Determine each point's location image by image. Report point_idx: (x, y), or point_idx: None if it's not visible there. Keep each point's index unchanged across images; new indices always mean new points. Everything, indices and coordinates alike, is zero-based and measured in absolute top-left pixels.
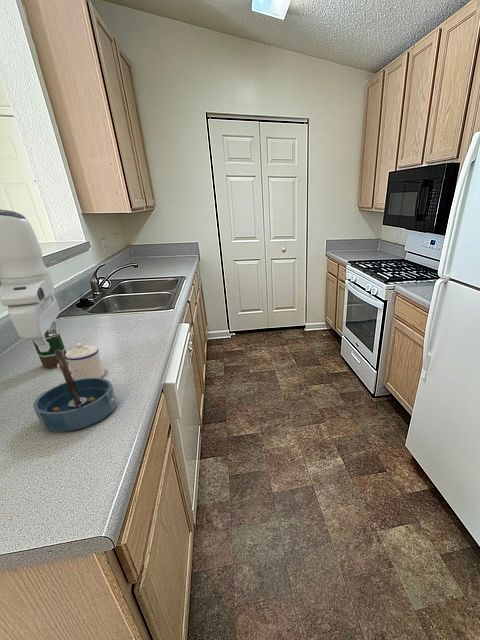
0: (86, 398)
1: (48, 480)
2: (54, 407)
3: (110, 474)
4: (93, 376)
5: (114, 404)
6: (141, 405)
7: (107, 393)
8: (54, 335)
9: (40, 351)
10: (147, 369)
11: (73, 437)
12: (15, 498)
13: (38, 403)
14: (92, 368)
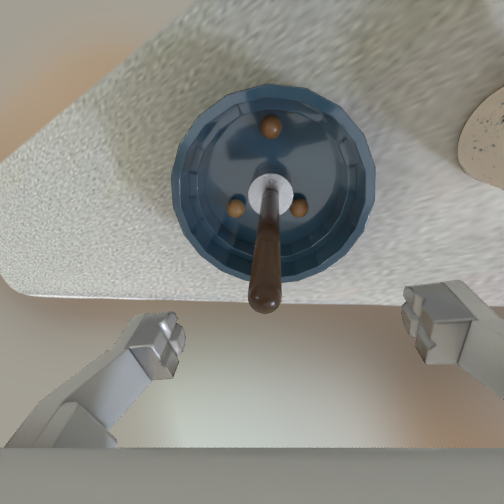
0: (281, 214)
1: (65, 203)
2: (272, 127)
3: (92, 283)
4: (467, 165)
5: None
6: None
7: None
8: (407, 317)
9: (135, 316)
10: None
11: None
12: (20, 167)
13: (242, 103)
14: (490, 176)
